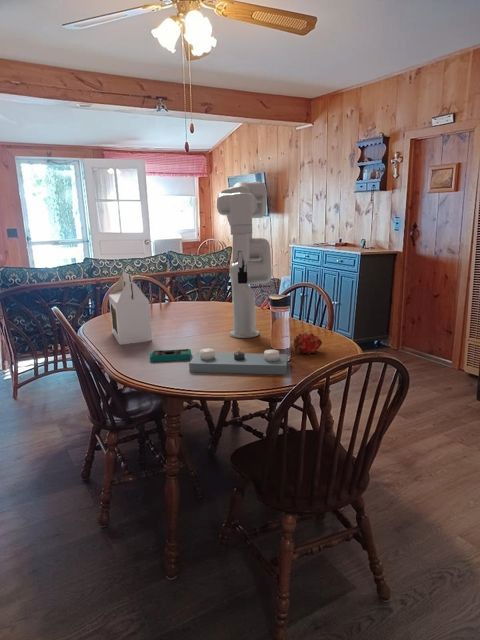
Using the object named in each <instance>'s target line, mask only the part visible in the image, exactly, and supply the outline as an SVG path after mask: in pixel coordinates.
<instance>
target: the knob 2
mask: <svg viewBox="0 0 480 640" xmlns="http://www.w3.org/2000/svg"><path fill="white" fill-rule="evenodd" d="M263 354H264V359H265V360H266V361H277V360H279V354H280V350H277V349H265V350H264V351H263Z"/></svg>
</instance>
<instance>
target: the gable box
mask: <svg viewBox="0 0 480 640" xmlns="http://www.w3.org/2000/svg"><path fill="white" fill-rule="evenodd" d="M134 279H135V276H132V275H131V274H130V273H128V272H127V271H125V270H122V277H120V278H118V280H117V281H116V283H115V285H114V286H113V288H112V290H111V291H110V293H109V295H108V301H109V312H110V321H111V331H112V332H111V333H112V335H113V336H114V337H115V339H116V341H117V342H118V344H119V345H120V346H122V345H130V344H131V343H132V344H138V343H139V344H140V343H144V342H152V341H153V336H152V335H153V334H152V322H151V310H150V308H151V307H150V300H149V299H148V297H147V296H146V295H145V294H144V293H143V291H142V290H141V289H140V288H139V286H138V285H137V284H136V283H135V282H134Z"/></svg>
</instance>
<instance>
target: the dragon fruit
mask: <svg viewBox="0 0 480 640" xmlns="http://www.w3.org/2000/svg"><path fill="white" fill-rule="evenodd" d="M322 344H323V341H322V340H321V338H319V336H317V335H314V333H313V332H310V333H308V332H305V333H298V335H296V337H294V339H293V348H294V350H295V351H296V352H300V354H301V353H302V354H301V355H303V354H304V353H305V354H308V355H310V354H312V353H313V354H317V353H318V350H319V349H320V347H321V346H322Z"/></svg>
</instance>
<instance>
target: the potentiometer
mask: <svg viewBox="0 0 480 640" xmlns="http://www.w3.org/2000/svg"><path fill="white" fill-rule="evenodd" d="M233 353H234V359H235V360H244V359H245V352H243V351H242V349H241V348H237V352H233Z"/></svg>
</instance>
